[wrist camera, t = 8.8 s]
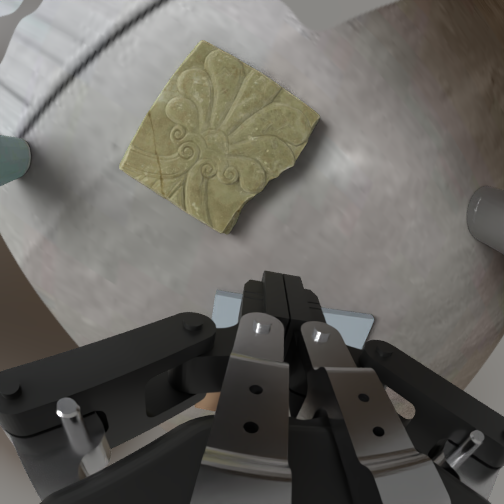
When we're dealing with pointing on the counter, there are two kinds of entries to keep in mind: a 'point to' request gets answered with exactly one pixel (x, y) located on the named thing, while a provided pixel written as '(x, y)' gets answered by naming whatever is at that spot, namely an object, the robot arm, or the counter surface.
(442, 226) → the counter surface
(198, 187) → the decorative tile
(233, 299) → the grey plank
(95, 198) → the counter surface
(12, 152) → the disposable coffee cup
